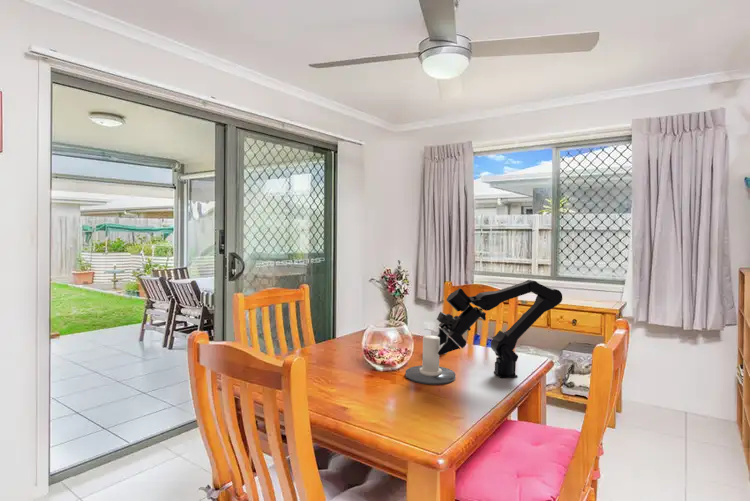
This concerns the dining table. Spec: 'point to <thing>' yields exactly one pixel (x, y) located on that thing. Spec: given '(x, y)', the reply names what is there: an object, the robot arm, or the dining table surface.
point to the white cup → (436, 334)
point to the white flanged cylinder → (431, 356)
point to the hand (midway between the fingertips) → (435, 350)
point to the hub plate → (444, 378)
